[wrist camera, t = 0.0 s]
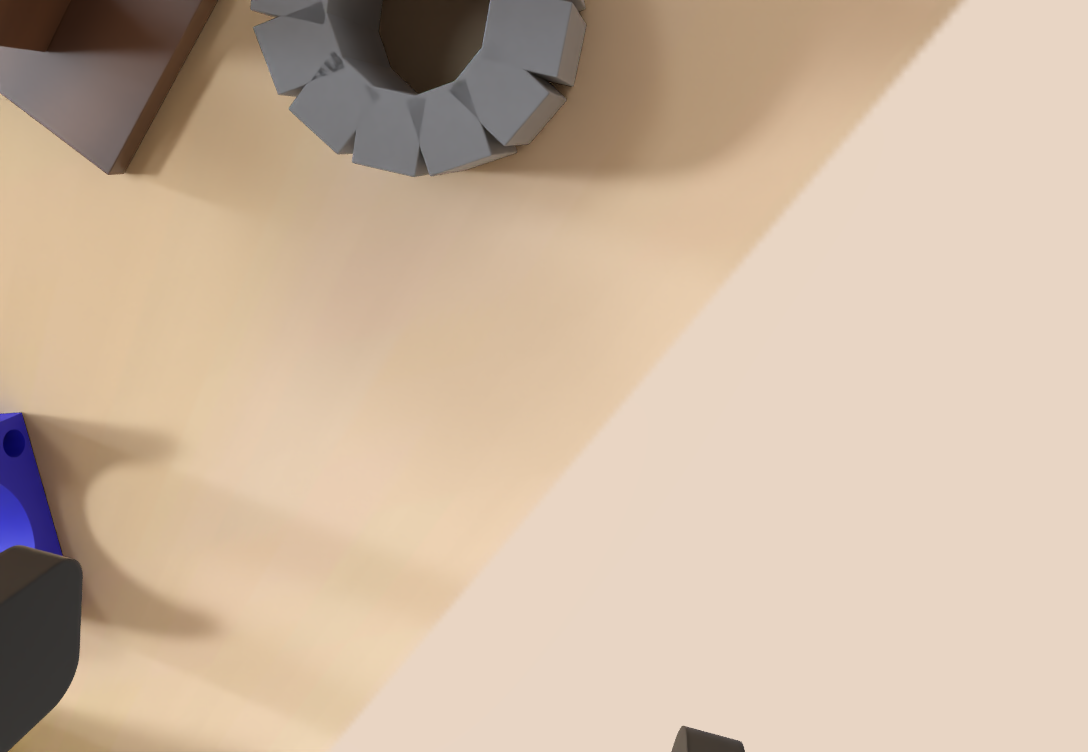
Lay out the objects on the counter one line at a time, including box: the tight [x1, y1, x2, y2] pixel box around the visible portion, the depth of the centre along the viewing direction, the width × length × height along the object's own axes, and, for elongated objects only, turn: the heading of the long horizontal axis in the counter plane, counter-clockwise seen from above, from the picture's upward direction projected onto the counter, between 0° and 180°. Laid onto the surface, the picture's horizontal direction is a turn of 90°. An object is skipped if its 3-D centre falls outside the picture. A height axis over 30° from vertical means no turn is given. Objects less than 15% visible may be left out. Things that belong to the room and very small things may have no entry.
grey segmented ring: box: [250, 0, 586, 177], centre depth 33 cm, size 12×12×6 cm
